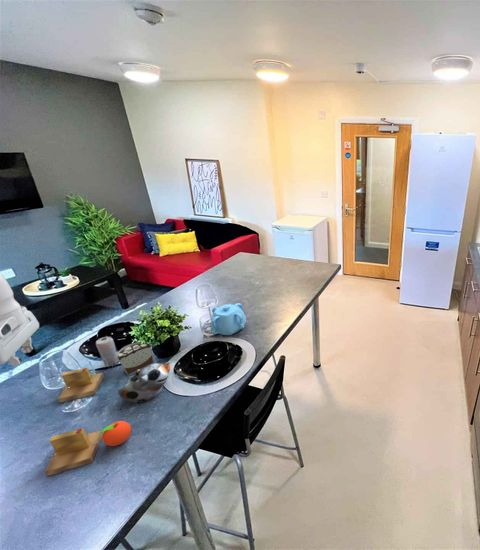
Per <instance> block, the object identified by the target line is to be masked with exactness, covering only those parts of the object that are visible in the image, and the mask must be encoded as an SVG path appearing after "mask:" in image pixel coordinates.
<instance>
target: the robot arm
mask: <svg viewBox="0 0 480 550" xmlns="http://www.w3.org/2000/svg"><path fill="white" fill-rule="evenodd" d="M39 328H40V322H39V321H38V319H37V317H36V316H35V315H34V314H33V312H32V311H31V310H28V308H27V307H26V306H23V305H21V304H20V303H19V302H18V301H17V300H16V299H15V297H14V291H13V289H12V287H11V286H10V284H9V282H8V281H7V279H6V278H5V277H4V275H3V274H2V273H1V272H0V365H4V364H6V363H7V362H8V363H9V364H10V366H12V367H16V366H20V364H22V362H23V360H22V358H21V356H19V357H18V356H16V355H17V354H16V352H17V351H18V350H20V348H21V352H22V353H23V354H28V353H31V352H32V351H33V350H34V348H33V345H32V336H33V334H35V332H36V331H37V330H39Z"/></svg>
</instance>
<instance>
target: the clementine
mask: <svg viewBox="0 0 480 550" xmlns="http://www.w3.org/2000/svg"><path fill="white" fill-rule="evenodd" d="M101 430H102V431H101V432H100V433H102V432H103V436H102V442H103V443H104V444H105V445H106V446H109V447H117V446H120V445H121V444H124V443H125V442H126V441H127V440H128V439H129V438H130V436H131V433H132V425H131V424H130V423H129V422H127V421H123V420H119V421H115V422H112V423H111V424H109V425H108V426H106V427H104V428H102V429H101ZM100 433H99V434H100ZM99 434H98V435H99ZM97 438H98V437H97Z"/></svg>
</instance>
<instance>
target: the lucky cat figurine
mask: <svg viewBox="0 0 480 550" xmlns="http://www.w3.org/2000/svg"><path fill="white" fill-rule="evenodd" d="M170 371H171V362H169V361H167V362H165V363H156V362H154V363H153V364H151V365H149V366H147V367H145V368H143V369H141V370H140V369H138V370H137V371H136V372H134V375H133V376H130V377H129V378H128V379H127V380H126V382H125V384H124V385H123V387H122V388H120V389H117V390H118V391H117V394H118V395H119V397H121V399H123V400H126V401H127V402H129V403H134V404H139V403H141V402H143V403H146V402H149V401H150V400H152V399H153V398H155V397H156V396H158V395H159V394H160V393H162V389H163V386H164V384H165V383H166V382H167V381H168V379H169V373H170Z"/></svg>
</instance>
